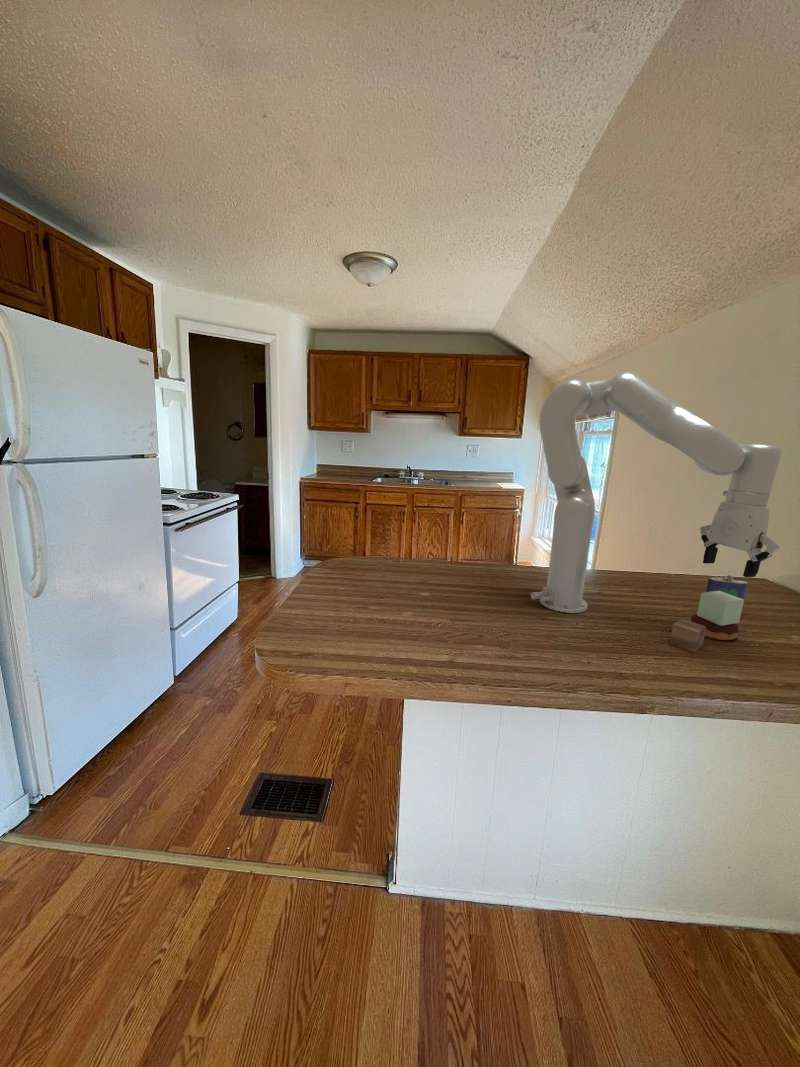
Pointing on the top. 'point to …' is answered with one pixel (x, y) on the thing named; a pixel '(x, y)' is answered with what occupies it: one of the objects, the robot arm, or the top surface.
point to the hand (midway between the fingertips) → (727, 569)
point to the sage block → (720, 607)
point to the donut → (716, 629)
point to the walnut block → (687, 635)
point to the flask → (727, 586)
